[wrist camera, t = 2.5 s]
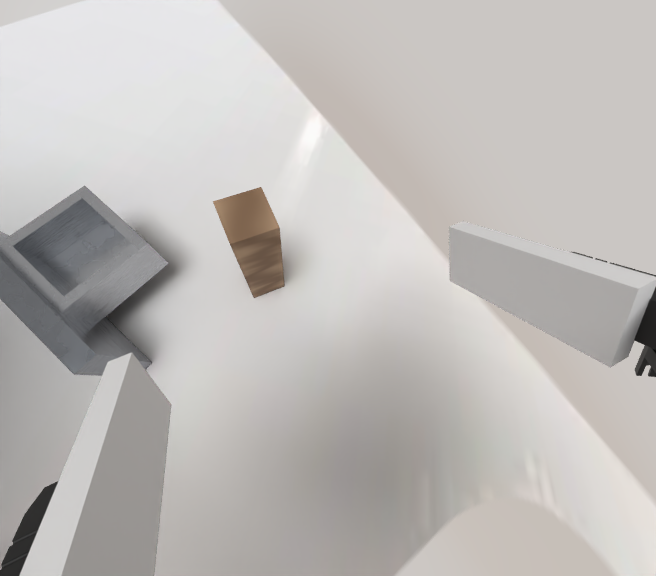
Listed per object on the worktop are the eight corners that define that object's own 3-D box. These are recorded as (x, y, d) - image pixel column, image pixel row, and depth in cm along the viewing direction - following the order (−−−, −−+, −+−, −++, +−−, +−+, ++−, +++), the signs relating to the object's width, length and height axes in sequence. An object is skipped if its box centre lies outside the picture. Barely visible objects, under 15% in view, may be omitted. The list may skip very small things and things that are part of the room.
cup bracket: (20, 261, 35) (-80, 216, 26) (102, 203, 38) (40, 144, 29) (137, 377, 33) (73, 374, 23) (213, 304, 36) (185, 276, 27)
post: (254, 298, 37) (230, 244, 23) (242, 270, 38) (212, 201, 24) (284, 286, 38) (279, 227, 24) (272, 259, 39) (261, 187, 24)
